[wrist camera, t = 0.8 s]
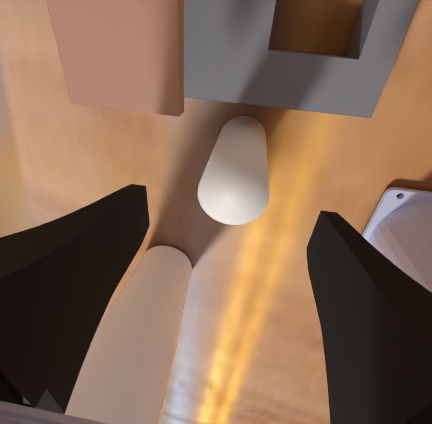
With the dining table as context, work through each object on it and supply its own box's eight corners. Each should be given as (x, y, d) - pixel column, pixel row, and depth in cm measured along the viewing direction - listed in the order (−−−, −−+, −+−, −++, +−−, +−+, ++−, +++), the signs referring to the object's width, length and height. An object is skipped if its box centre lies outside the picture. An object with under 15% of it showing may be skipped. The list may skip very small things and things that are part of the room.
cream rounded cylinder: (142, 278, 29) (58, 450, 17) (133, 233, 26) (17, 414, 13) (199, 286, 29) (155, 471, 17) (200, 241, 25) (141, 440, 13)
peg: (270, 118, 18) (276, 168, 11) (261, 164, 20) (262, 229, 13) (221, 113, 18) (198, 158, 11) (217, 158, 20) (196, 219, 13)
